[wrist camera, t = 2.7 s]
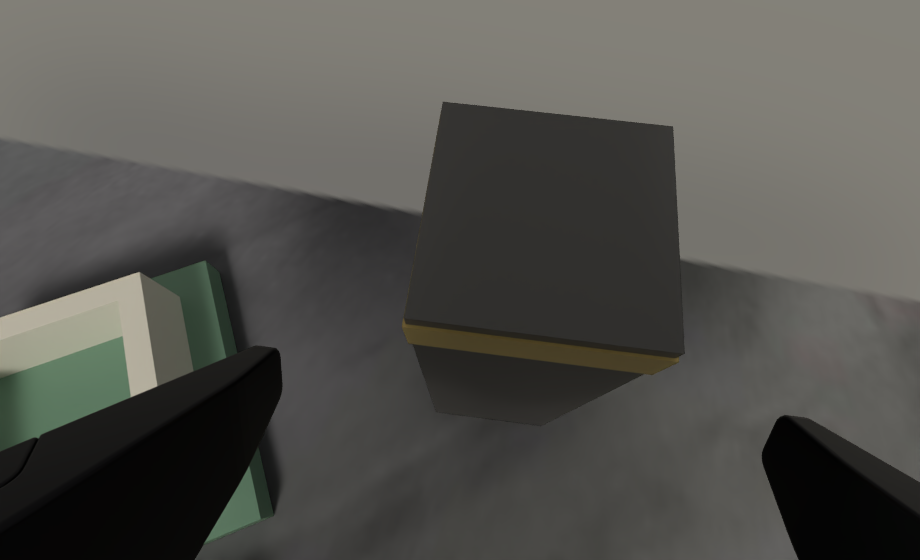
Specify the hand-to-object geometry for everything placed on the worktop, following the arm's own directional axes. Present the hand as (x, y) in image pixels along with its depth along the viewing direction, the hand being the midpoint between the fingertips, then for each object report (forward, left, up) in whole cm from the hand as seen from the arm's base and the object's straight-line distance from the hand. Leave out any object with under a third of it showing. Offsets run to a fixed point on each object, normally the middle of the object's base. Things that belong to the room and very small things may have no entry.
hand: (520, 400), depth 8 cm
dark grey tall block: (+2, -1, -10) cm, 10 cm away
